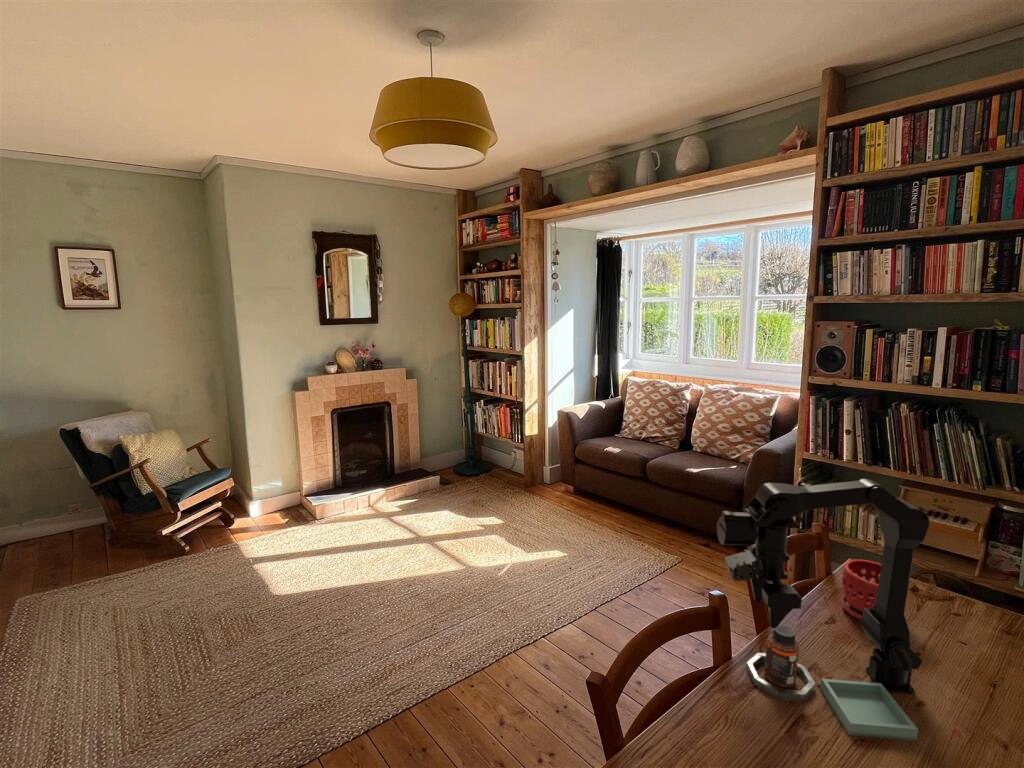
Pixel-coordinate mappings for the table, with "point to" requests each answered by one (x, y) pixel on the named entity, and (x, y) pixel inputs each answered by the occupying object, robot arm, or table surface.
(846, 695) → the tray
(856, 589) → the plant pot
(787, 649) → the supplement bottle
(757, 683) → the holder ring
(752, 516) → the robot arm
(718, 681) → the table surface
